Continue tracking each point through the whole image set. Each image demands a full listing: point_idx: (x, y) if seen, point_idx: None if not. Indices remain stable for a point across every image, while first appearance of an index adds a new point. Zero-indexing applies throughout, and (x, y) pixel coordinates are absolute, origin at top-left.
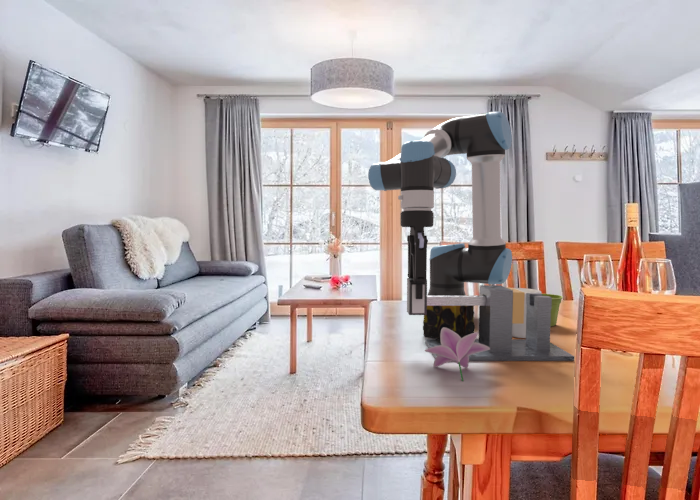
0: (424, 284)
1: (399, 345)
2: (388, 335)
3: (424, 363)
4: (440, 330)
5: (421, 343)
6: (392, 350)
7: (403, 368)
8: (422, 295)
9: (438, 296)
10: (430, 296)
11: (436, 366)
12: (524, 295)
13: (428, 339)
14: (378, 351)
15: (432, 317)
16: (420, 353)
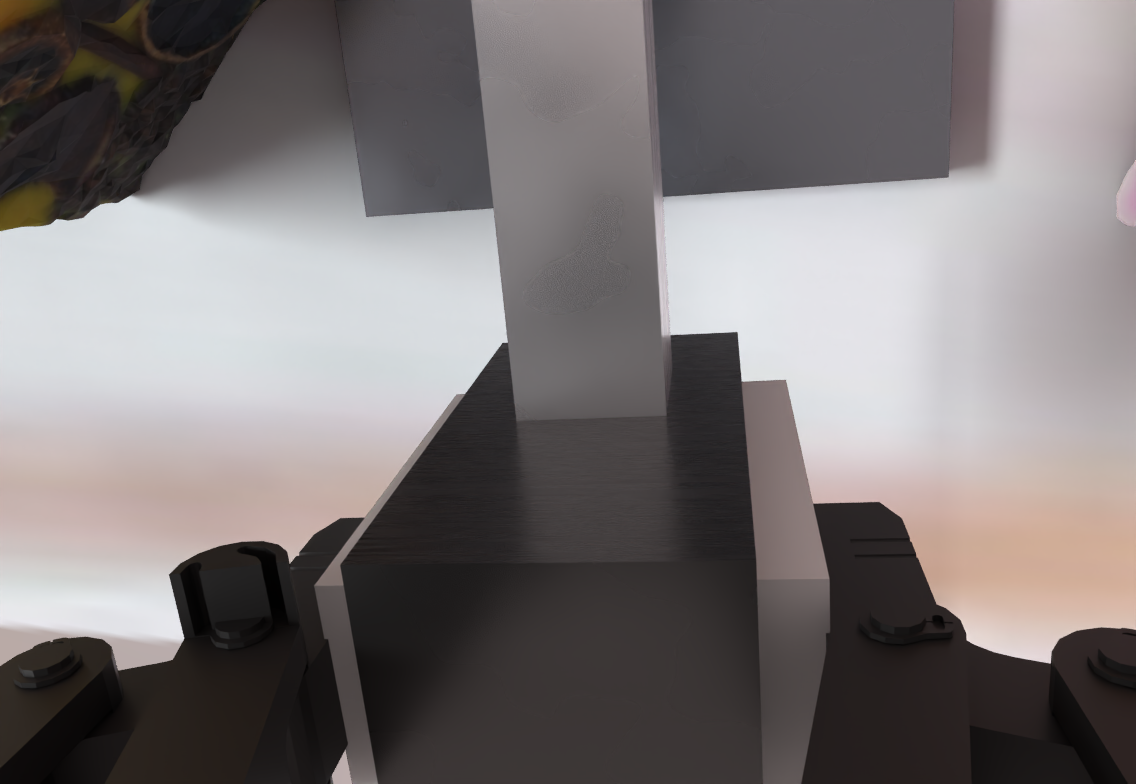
0: (914, 598)
1: None
2: (175, 513)
3: (1009, 285)
4: (178, 38)
5: (390, 246)
6: None
7: (1133, 466)
8: (904, 531)
9: (603, 189)
10: (614, 335)
11: (1127, 195)
12: None
13: (374, 185)
14: None
15: (49, 133)
16: (714, 289)
